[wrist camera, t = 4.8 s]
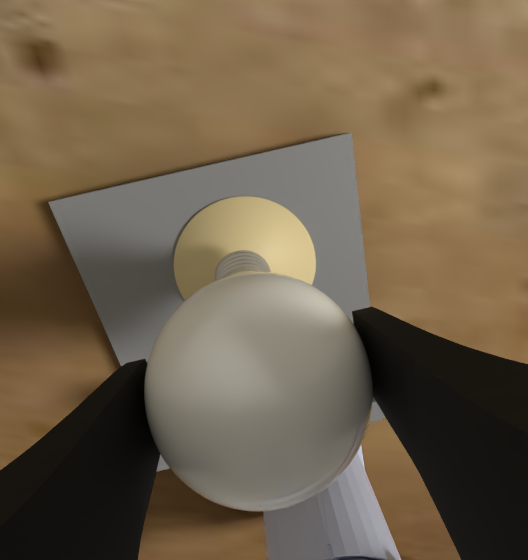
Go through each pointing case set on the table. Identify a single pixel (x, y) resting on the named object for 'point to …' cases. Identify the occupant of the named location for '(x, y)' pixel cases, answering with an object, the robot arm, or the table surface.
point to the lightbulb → (258, 388)
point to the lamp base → (217, 235)
